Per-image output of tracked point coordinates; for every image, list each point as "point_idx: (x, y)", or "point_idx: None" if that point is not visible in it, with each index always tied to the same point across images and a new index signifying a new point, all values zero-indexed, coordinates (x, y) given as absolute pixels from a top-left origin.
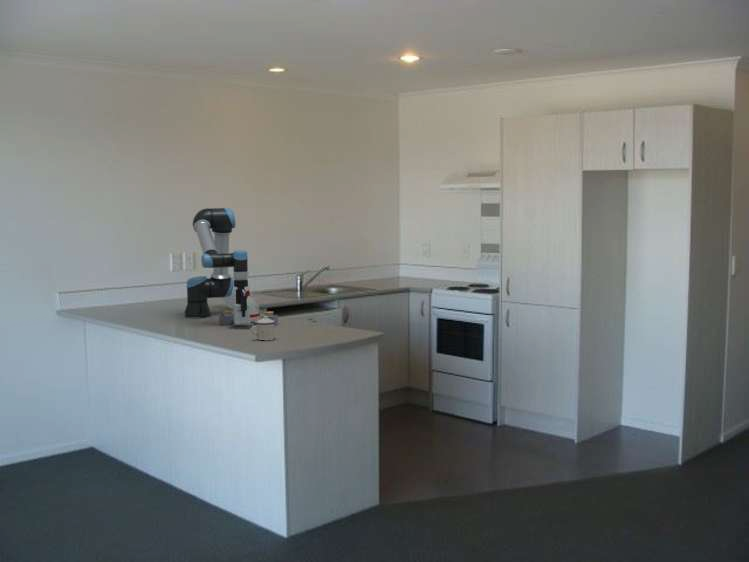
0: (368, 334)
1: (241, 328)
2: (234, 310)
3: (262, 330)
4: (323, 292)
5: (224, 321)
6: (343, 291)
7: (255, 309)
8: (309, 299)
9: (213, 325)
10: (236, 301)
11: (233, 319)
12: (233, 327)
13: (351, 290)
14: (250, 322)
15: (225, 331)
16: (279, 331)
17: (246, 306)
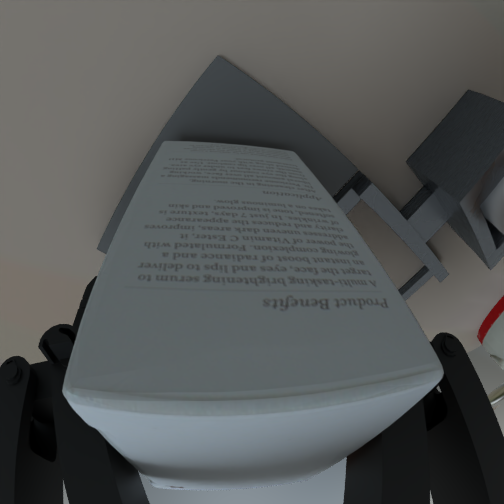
0: None
1: (131, 182)
2: (197, 251)
3: None
4: (497, 397)
5: (465, 128)
6: None
7: (495, 351)
8: (489, 394)
9: (472, 43)
10: (472, 435)
11: (453, 215)
12: (197, 111)
13: None
14: None
15: (57, 11)
16: (18, 347)
17: (29, 443)
